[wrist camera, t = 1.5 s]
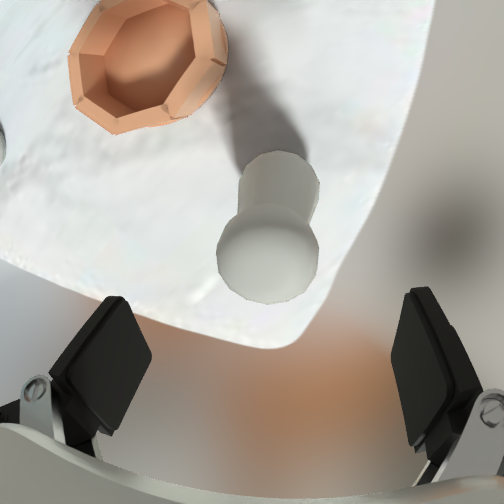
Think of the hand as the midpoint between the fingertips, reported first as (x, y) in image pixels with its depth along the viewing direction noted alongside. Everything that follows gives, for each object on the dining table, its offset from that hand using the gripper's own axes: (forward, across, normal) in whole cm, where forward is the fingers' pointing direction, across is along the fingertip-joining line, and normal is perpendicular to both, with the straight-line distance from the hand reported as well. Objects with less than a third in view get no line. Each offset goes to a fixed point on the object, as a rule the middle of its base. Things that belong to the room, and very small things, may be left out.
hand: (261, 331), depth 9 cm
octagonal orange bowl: (+15, +9, -13) cm, 22 cm away
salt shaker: (+16, 0, -1) cm, 16 cm away
